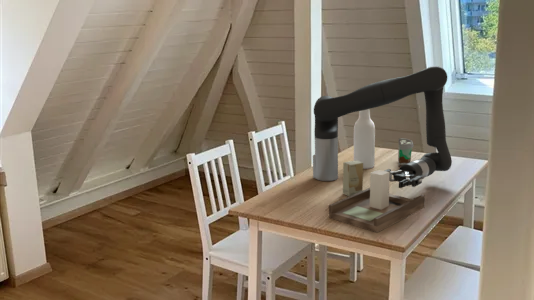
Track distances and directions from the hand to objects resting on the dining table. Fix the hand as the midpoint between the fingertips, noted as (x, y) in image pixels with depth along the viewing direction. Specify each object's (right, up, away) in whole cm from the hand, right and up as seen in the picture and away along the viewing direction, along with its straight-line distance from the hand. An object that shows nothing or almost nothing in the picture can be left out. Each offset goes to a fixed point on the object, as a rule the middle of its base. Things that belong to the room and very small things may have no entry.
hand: (388, 182), depth 192 cm
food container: (+19, +5, +52) cm, 56 cm away
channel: (-3, -10, -1) cm, 10 cm away
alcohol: (0, +4, +51) cm, 51 cm away
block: (-4, -8, -2) cm, 9 cm away
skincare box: (-10, -5, +17) cm, 21 cm away
